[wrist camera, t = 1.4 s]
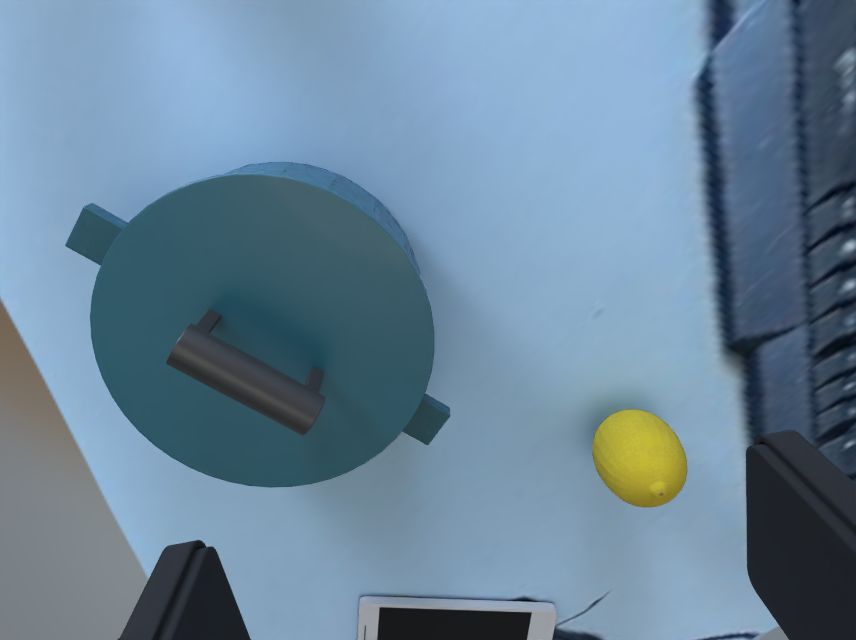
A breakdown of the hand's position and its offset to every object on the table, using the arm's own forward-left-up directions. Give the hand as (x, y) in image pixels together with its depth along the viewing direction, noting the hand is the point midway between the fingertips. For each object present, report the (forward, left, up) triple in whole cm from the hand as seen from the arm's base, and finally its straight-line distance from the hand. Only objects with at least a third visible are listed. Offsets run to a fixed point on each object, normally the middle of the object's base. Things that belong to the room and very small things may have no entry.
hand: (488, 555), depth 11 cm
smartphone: (+27, +21, -30) cm, 46 cm away
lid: (+9, -4, -23) cm, 25 cm away
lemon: (+5, +20, -30) cm, 37 cm away
